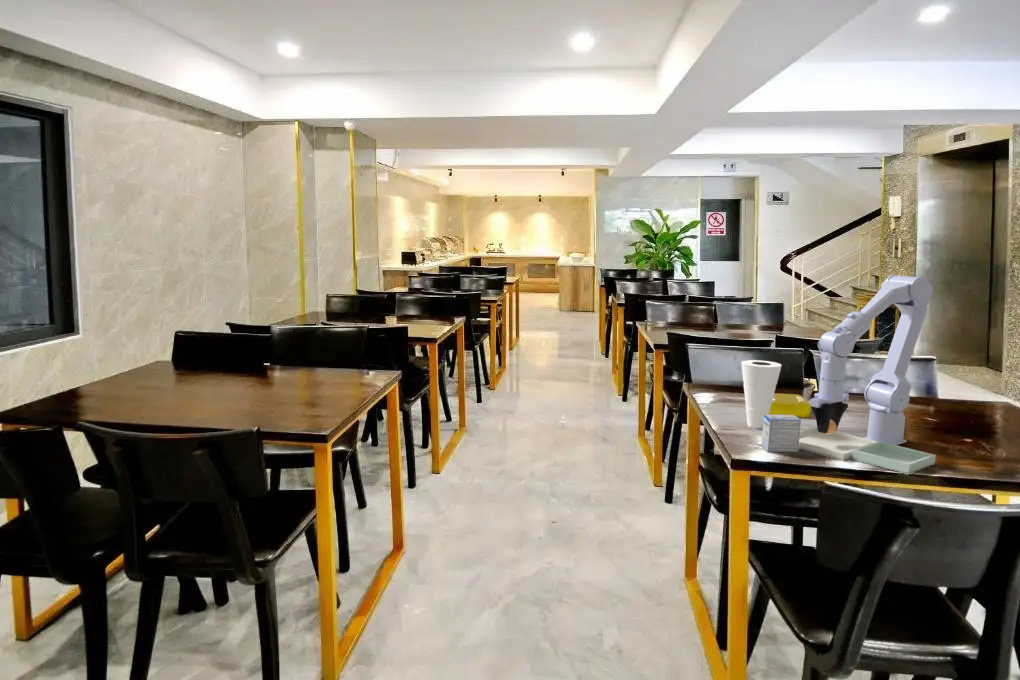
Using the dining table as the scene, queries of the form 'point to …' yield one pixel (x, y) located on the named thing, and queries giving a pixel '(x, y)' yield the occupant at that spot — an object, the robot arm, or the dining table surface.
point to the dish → (893, 457)
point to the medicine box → (781, 433)
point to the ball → (831, 427)
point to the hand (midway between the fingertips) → (827, 431)
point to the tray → (831, 443)
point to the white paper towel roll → (759, 389)
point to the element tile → (790, 405)
